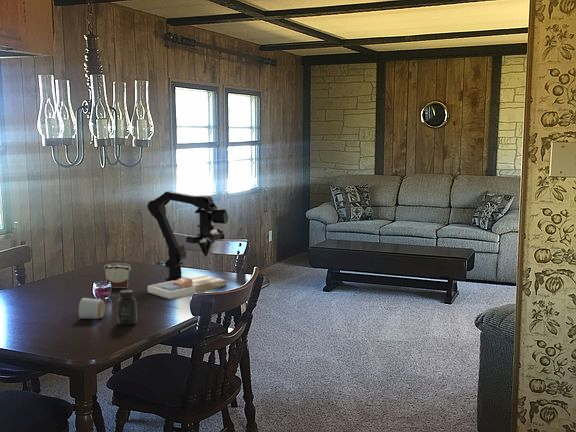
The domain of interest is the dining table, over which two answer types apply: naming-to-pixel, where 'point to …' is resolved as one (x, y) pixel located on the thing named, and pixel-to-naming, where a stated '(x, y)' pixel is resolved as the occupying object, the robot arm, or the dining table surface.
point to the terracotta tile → (183, 282)
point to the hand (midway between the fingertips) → (205, 255)
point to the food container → (117, 274)
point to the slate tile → (171, 287)
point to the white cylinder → (91, 308)
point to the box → (158, 291)
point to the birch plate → (207, 283)
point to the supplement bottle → (127, 308)
